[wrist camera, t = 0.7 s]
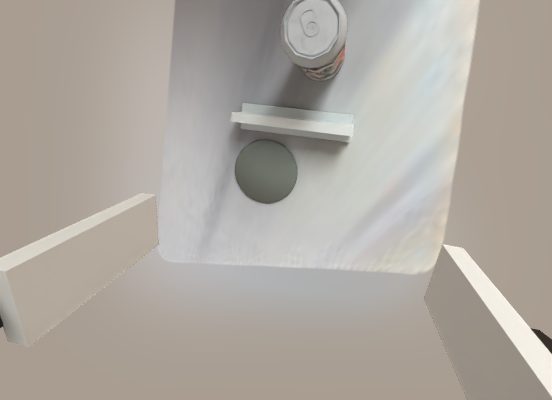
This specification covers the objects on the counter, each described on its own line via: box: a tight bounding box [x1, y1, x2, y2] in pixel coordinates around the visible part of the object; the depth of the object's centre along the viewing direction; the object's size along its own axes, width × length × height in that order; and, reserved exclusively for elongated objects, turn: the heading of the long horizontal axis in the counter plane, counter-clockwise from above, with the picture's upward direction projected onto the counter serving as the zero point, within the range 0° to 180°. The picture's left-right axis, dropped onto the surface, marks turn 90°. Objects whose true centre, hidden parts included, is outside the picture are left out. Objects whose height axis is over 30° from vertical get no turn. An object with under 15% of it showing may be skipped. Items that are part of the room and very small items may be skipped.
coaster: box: [235, 140, 297, 203], centre depth 35 cm, size 8×8×1 cm
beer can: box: [280, 0, 347, 81], centre depth 24 cm, size 5×5×12 cm
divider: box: [231, 103, 354, 142], centre depth 31 cm, size 3×13×4 cm, turn 84°
